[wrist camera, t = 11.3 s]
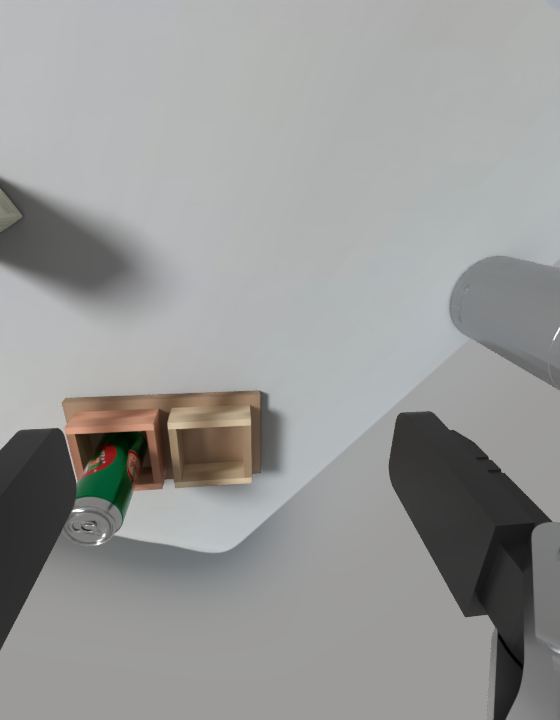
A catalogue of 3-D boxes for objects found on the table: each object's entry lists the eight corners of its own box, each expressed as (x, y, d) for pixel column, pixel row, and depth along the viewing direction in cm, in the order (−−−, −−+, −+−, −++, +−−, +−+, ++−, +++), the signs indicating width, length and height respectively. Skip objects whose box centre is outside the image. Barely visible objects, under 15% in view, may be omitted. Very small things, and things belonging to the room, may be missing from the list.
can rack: (259, 390, 43) (262, 408, 39) (259, 467, 47) (262, 490, 43) (65, 398, 40) (48, 418, 37) (84, 478, 45) (71, 503, 41)
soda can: (147, 462, 43) (119, 550, 33) (101, 458, 43) (56, 548, 32) (150, 425, 42) (121, 506, 31) (102, 421, 41) (54, 503, 30)
